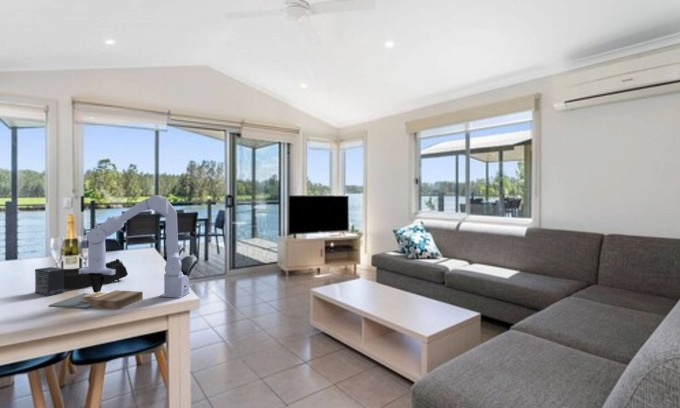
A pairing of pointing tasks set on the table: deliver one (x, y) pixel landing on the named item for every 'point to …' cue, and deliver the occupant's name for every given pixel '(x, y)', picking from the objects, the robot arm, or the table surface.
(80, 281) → the magazine
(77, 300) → the charcoal mat
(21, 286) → the table surface
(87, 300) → the birch tile
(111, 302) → the block
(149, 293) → the table surface
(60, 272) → the small box
